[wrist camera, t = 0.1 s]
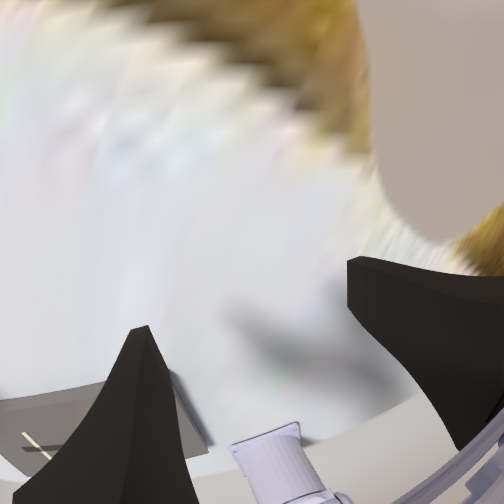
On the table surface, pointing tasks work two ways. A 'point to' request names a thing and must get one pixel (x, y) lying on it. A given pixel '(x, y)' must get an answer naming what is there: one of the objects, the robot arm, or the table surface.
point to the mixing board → (64, 426)
